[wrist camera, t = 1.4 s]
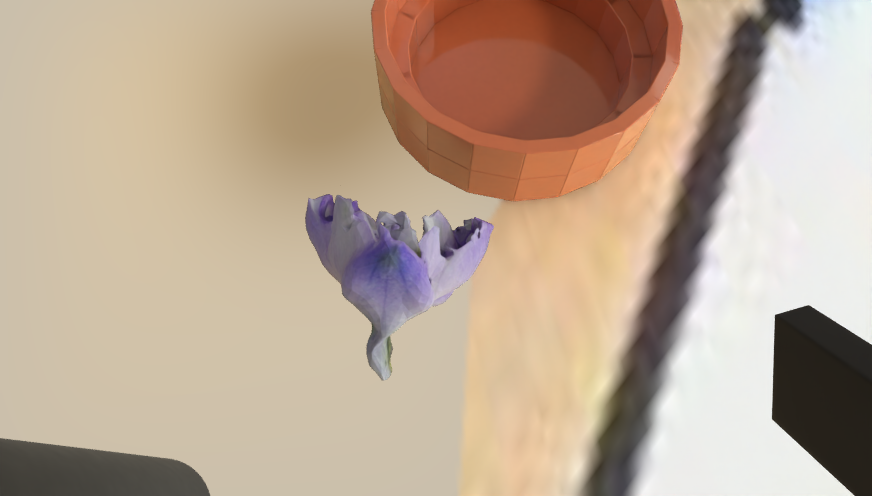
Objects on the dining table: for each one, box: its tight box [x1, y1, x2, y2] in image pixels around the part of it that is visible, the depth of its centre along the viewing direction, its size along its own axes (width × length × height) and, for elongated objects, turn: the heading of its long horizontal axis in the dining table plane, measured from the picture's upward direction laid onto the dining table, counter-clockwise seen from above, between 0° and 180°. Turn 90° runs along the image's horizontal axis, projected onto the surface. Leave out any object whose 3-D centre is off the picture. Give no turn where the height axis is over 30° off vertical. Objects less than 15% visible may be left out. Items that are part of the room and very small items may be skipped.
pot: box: [371, 0, 683, 201], centre depth 37 cm, size 17×17×6 cm
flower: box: [305, 194, 494, 380], centre depth 31 cm, size 9×9×10 cm
